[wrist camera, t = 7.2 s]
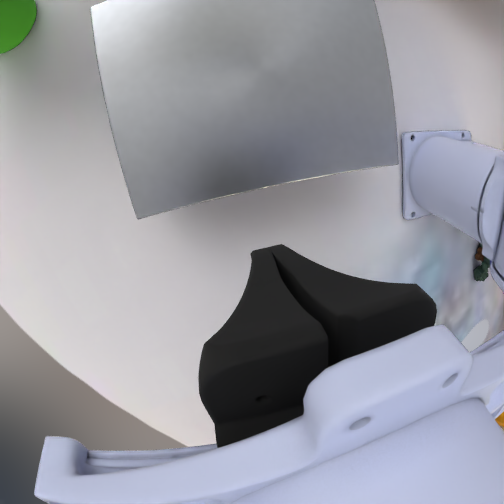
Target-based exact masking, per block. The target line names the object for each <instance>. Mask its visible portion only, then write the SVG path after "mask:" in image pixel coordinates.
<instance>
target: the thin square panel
mask: <svg viewBox="0 0 504 504" xmlns="http://www.w3.org/2000/svg"><path fill="white" fill-rule="evenodd" d="M90 10H91V20H92V28H93V36H94V43H95V49H96V56H97V62H98V68H99V73H100V79H101V84H102V89H103V94H104V99H105V104H106V108H107V113H108V117H109V121H110V126H111V130H112V134H113V138H114V142H115V146H116V149H117V153H118V157H119V161H120V164H121V168H122V171H123V175H124V178H125V182H126V185H127V188H128V192H129V195H130V198H131V201H132V204H133V208H134V211H135V214H136V217H137V219H141V218H145V217H148V216H152V215H156V214H159V213H163V212H167V211H171V210H174V209H178V208H182V207H186V206H190V205H194V204H198V203H202V202H206V201H210V200H214V199H218V198H223V197H227V196H231V195H235V194H240V193H244V192H249V191H253V190H258V189H263V188H267V187H272V186H277V185H282V184H287V183H292V182H297V181H302V180H307V179H312V178H318V177H323V176H329V175H334V174H340V173H346V172H352V171H358V170H364V169H371V168H377V167H384V166H391V165H398V164H399V162H398V142H397V129H396V117H395V108H394V99H393V91H392V84H391V77H390V71H389V65H388V59H387V53H386V48H385V43H384V38H383V34H382V29H381V25H380V21H379V17H378V13H377V9H376V5H375V1H374V0H107V1H104V2H101V3H99V4H96V5H94V6H92V7H90Z"/></svg>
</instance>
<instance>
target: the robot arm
mask: <svg viewBox="0 0 504 504" xmlns="http://www.w3.org/2000/svg"><path fill="white" fill-rule="evenodd" d="M461 135H462V137H461ZM411 136H412V140H411ZM402 153H403V217H404V218H405V219H406V220H411V219H415V218H419V217H423V216H427V215H431V214H434V215H436V216H438V217H439V218H441V219H443V220H444V221H446V222H448V223H449V224H451V225H453V226H454V227H456V228H458V229H459V230H461V231H463V232H464V233H466V234H467V235H469V236H470V237H472V238H474V239H475V240H477V241H478V242H480V243H481V244H483V249H482V255H484V256H485V257H487V258H488V259H489V260H491V261H492V262H491V266H490V271H491V275H492V277H493V279H494V280H495V282H496V283H497V285H498V286H499V287H500V289H501V290H502V291H503V292H504V151H503V150H500V149H496V148H493V147H490V146H487V145H483V144H480V143H476V142H472V141H471V133H470V131H467V130H451V131H419V132H405V133H403V135H402ZM412 212H413V214H412V215H411V213H412ZM251 258H252V263H251V270H250V275H249V279H248V282H247V285H246V288H245V291H244V293H243V296H242V298H241V300H240V302H239V304H238V305H237V307H236V309H235V310H234V312H233V314H232V315H231V316H230V318H229V319H228V320H227V322H226V323H225V324H224V325H223V327H222V328H221V329H220V330H219V331H218V332H217V333H216V334H215V335H213V336H212V337H211V338H210V339H209V340H208V341H207V342H205V344H204V347H203V350H202V355H201V360H200V366H199V394H200V397H201V401H202V403H203V404H204V406H205V408H206V410H207V412H208V413H209V415H210V417H211V419H212V420H213V422H214V424H215V433H216V441H217V444H210V445H202V446H194V447H185V448H174V449H162V450H141V451H102V450H87V448H86V447H85V446H84V445H83V444H82V443H80V442H79V441H77V440H75V439H73V438H68V437H56V436H46V438H45V442H44V446H43V451H42V455H41V460H40V465H39V469H38V475H37V480H36V487H35V493H34V494H35V496H36V497H38V498H40V499H42V500H44V501H45V502H47V503H49V504H504V432H503V431H502V429H501V428H500V426H499V425H498V423H497V422H496V421H495V419H496V418H497V417H498V416H499V415H500V414H501V413H502V412H504V330H503V331H502V332H500V333H499V334H497V335H496V336H494V337H493V338H491V339H490V340H488V341H487V342H485V343H484V344H482V345H481V346H479V347H478V348H476V349H475V350H473V351H471V352H469V351H468V350H467V349H466V348H465V347H464V346H463V344H462V343H461V342H460V341H459V340H458V339H457V338H456V337H455V335H454V334H453V333H452V332H451V331H450V330H449V329H448V328H447V327H446V326H444V325H443V324H441V325H436V326H434V324H435V320H436V314H437V309H436V304H435V302H434V301H433V299H432V298H431V297H430V296H429V295H428V294H427V293H426V292H425V291H424V290H423V289H421V288H420V287H419V286H418V285H417V284H405V283H387V282H379V281H372V280H366V279H362V278H357V277H353V276H349V275H346V274H343V273H340V272H337V271H334V270H331V269H329V268H326V267H324V266H322V265H319V264H317V263H315V262H313V261H311V260H309V259H307V258H305V257H303V256H302V255H300V254H298V253H296V252H295V251H293V250H291V249H289V248H288V247H286V246H284V245H282V244H280V245H276V246H271V247H267V248H263V249H258V250H254V251H252V253H251Z"/></svg>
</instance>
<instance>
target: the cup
mask: <svg viewBox="0 0 504 504" xmlns="http://www.w3.org/2000/svg"><path fill="white" fill-rule="evenodd" d="M36 15H37V9H36V4H35V1H34V0H0V54H1V53H5V52H7V51H9V50H11V49H13V48H15V47H16V46H17V45H19V44H20V43H21V42H22V41H23V40H24V39H25V37H26V36H27V35H28V34H29V32H30V30H31V28H32V27H33V24H34V22H35V19H36Z"/></svg>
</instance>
